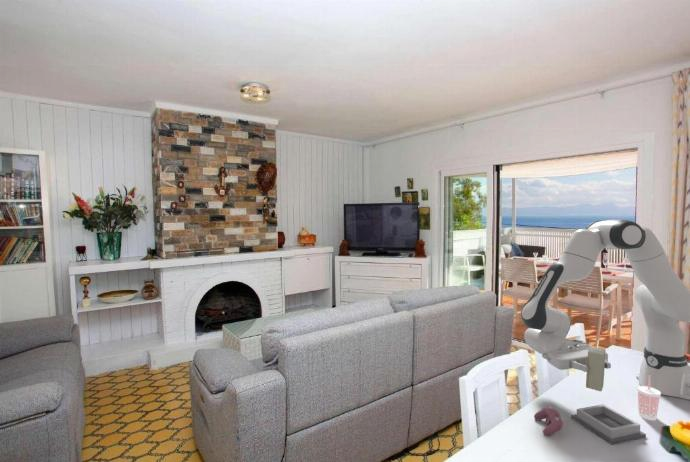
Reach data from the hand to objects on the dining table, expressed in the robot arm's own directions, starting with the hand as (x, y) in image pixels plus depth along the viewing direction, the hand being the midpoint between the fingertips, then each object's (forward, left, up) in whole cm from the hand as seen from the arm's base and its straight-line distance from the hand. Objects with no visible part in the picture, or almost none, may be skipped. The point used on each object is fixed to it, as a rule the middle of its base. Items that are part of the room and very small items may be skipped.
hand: (598, 367), depth 118 cm
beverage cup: (-19, +2, -18) cm, 26 cm away
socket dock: (0, +4, -18) cm, 18 cm away
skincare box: (0, -1, -7) cm, 7 cm away
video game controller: (+18, -1, -18) cm, 25 cm away
